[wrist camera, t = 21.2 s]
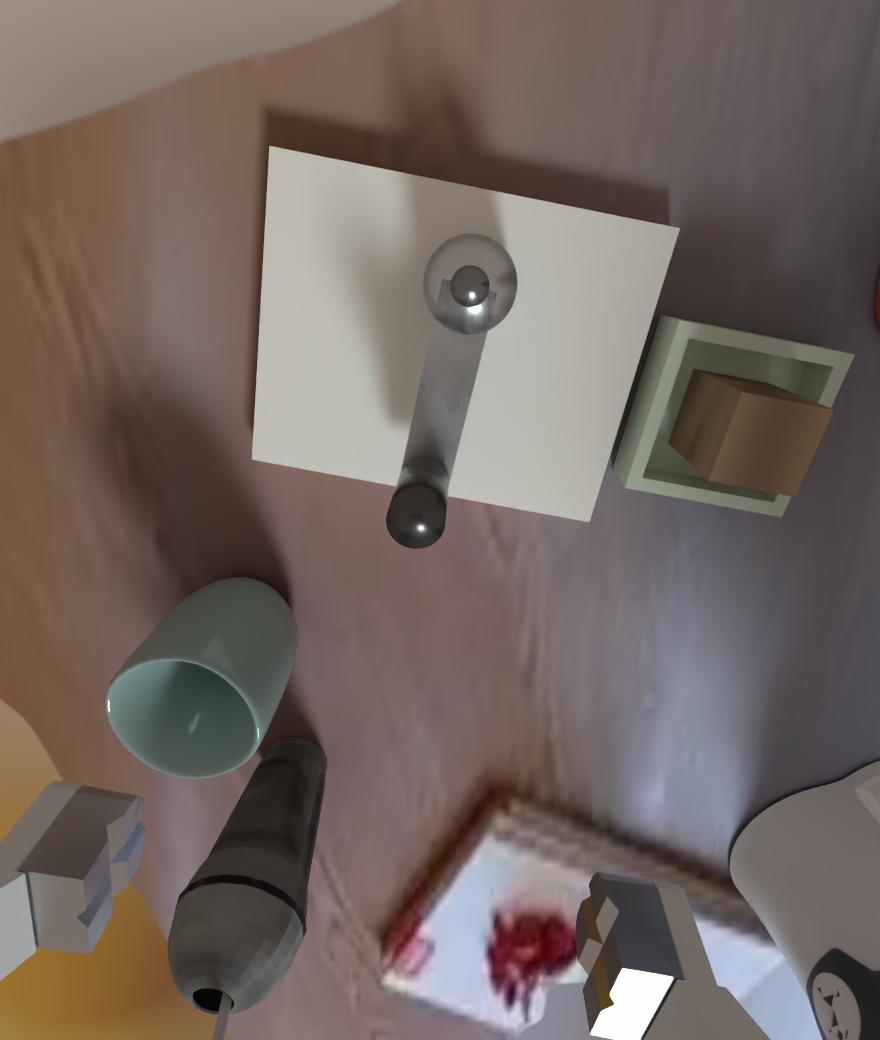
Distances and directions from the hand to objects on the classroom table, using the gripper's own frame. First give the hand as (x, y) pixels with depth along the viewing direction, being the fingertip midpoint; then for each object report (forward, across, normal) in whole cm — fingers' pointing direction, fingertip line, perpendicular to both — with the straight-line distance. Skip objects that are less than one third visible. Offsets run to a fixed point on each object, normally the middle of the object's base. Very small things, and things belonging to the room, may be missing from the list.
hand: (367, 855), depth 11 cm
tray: (+25, -14, -5) cm, 29 cm away
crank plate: (+25, 0, -6) cm, 26 cm away
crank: (+23, 0, -5) cm, 24 cm away
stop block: (+24, -14, -5) cm, 29 cm away
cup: (+25, +10, +13) cm, 30 cm away
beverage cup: (+25, +6, +25) cm, 36 cm away
